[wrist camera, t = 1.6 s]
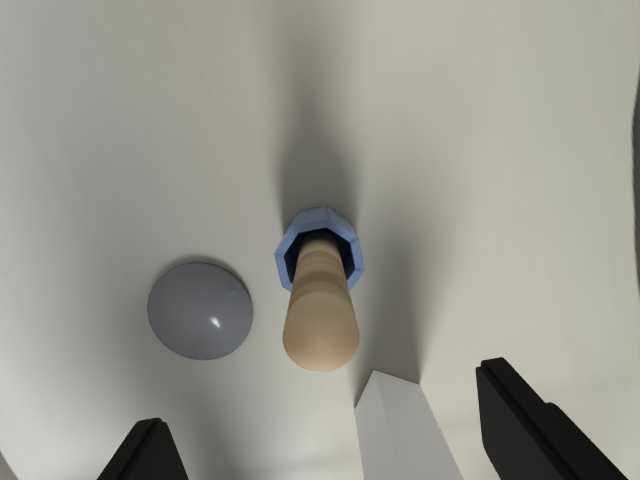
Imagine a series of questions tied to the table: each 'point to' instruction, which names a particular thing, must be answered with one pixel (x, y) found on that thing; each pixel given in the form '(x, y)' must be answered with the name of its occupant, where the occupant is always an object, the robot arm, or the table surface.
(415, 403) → the milk
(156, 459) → the robot arm
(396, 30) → the table surface
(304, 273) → the wooden pestle
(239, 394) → the table surface
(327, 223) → the cup
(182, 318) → the coaster
